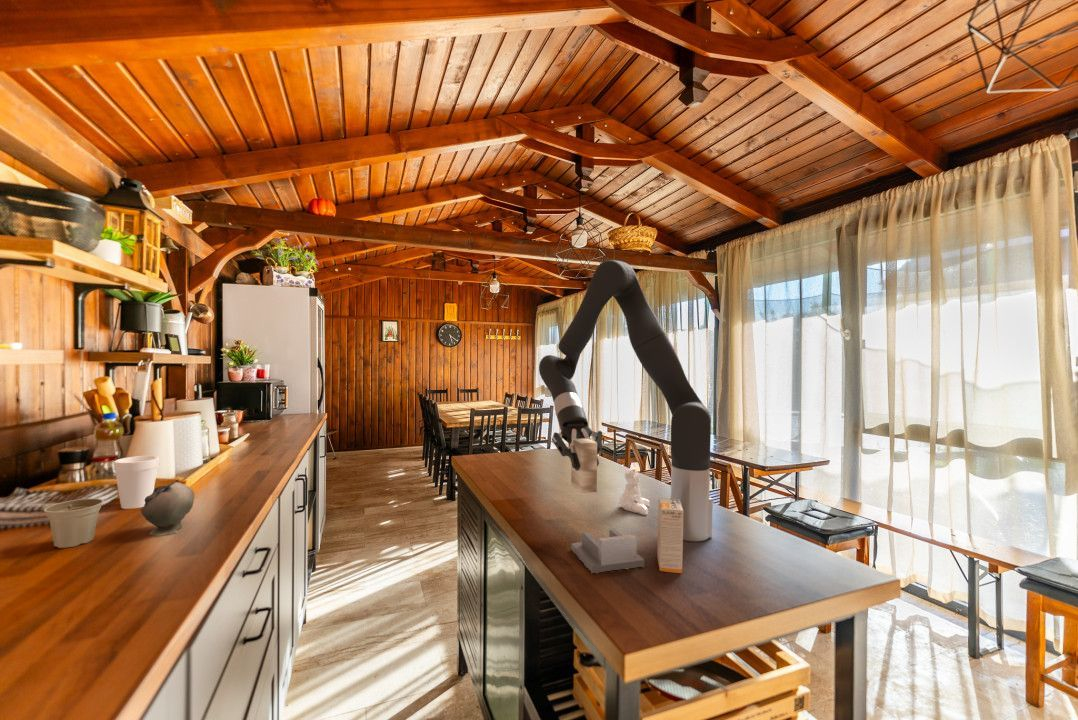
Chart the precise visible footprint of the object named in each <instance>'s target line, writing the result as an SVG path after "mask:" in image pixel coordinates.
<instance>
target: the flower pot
mask: <svg viewBox="0 0 1078 720" xmlns="http://www.w3.org/2000/svg"><path fill="white" fill-rule="evenodd" d="M103 504H104V499H102V498H91V497H90V498H81V499H80V498H79V499H74V500H73V499H72V500H67V501H62V502H58V503H55V504H54V503H53V504H51V505H48V506H46V507H45V508H44V509H43V512H44V513H46V517H47V518H48V520H49V525H50V529H51V530H50V531H51V535H52V536H51V537H52V541H53V546H54V547H57V548H59V549H67V548H74V547H77V546H80V545H82V544H88V543H89V542H91V541H92V540H94V538H95V530H96V527H97V526H96V525H97V522H98V517H99V511H100V509H101V508H102V505H103Z"/></svg>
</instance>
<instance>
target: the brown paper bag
mask: <svg viewBox="0 0 1078 720" xmlns="http://www.w3.org/2000/svg"><path fill="white" fill-rule="evenodd" d="M590 439H591V438H590ZM590 439H585V438H581V439H574V442H575V449H576V452H575V453H577V456H578V459H579V463H580V468H579V470H577V471H576V470H575V468H573V467H572V463H570V466H571V467H570V471H571V472H570V475H571V477H570V482H571V483H570V485H571V486H572V487H573V488H574V489H575V490H577V492H579V493H581V494H587V493H589V494H590V493H597V491H598V490H597V489H598V487H597V486H598V485H597V484H598V482H597V481H598V466H597V458H598V455H597V442H595V441H594V440H593V439H591V440H590Z"/></svg>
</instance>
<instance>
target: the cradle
mask: <svg viewBox="0 0 1078 720" xmlns="http://www.w3.org/2000/svg"><path fill="white" fill-rule="evenodd" d="M608 531H609V536H608V537H599V538H598V540H597V539H596V538H595V537H593V536H592V534H590V532H588V531H587V530H586V531H581V541H579V542H578V541H577V542H571V544H570V546H571V547H570V550H571V549H572V550H571V551H572V553H573V554H574V553H575V554H576V555H577V556H578V557H579V558H578V557H577V556H576V555H575V554H574V555H575V556H576V557H577V558H578V559H579V560H581V561H582V562H583V563H584V564H583V563H582V562H581V563H582V564H583V566H585V568H588V569H589V570H590V571H591V572H590V571H589V570H588V569H587V570H588V571H589V572H590V573H591V574H592V573H596V574H598V573H597V572H603V571H609V570H618V569H626V568H635V567H642V568H645V563H646V561H645V559H644V558H643V557H642V556H641V555H639V554H638V553H637V548H638V547H637V545H638V544H637V543H638V542H637V540H638V538H637V536H636V535H634V534H627V535H623V534H621V532H619V531H618V530H617V529H615V528H609V530H608ZM635 569H636V568H635Z"/></svg>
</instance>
